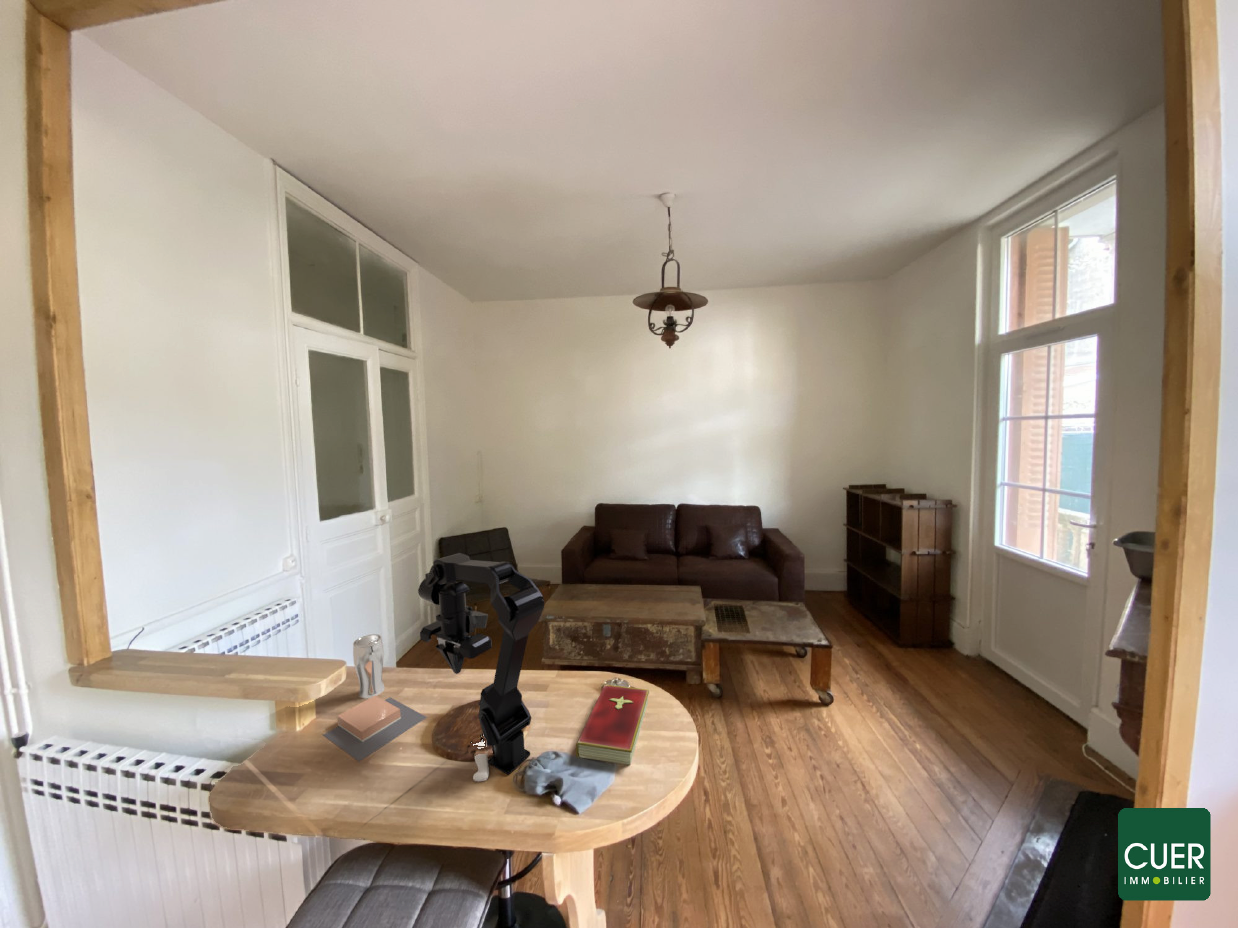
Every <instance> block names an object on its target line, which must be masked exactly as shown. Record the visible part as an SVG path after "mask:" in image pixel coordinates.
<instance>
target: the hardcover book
mask: <svg viewBox="0 0 1238 928" xmlns="http://www.w3.org/2000/svg"><path fill="white" fill-rule="evenodd" d="M649 694H650V689H649V688H648V689H646V688H639V687H629V686H622V685H614V684H613V685H612V684H604V685H603V687H602V689H601V691H600V693H599V696H598V698H597V700H596V702H595V704H594V707H593V708H592V710H591V713H590V715H589V717H588V719H587V721H586V723H585V726H584V728H583V730H582V731H581V733H580V737H579V738H578V741H577V743H576V745H575V746H576V747H575V753H576V755H575V756H576V758H577V757H579V758H584V759H590V760H596V761H601V762H608V763H615V764H620V765H627V766H631V763H632V760H633V757H634V755H635V754H634V753H635V750H636V745H637V743H638V739H639V737H640V733H641V728H642V725H643V722H644V718H645V714H646V712H647V711H646V710H647V708H648V704H649V703H648V701H649V699H648V696H649Z"/></svg>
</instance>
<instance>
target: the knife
mask: <svg viewBox="0 0 1238 928" xmlns="http://www.w3.org/2000/svg"><path fill="white" fill-rule="evenodd" d="M484 743H485V741H484V742H483V741H481V742H479V743H476V744H473V746H474V745H478V746H485V744H484ZM477 748H478V749H481V748H484V747H477ZM488 759H489V758H488V754H487V755H486V753H485V754H478V755H476V756H475V755H474V761H475V765H476V766H477V769H478V770H477V772H475V773H474V774H473V776H472V779H473V781H474V782H485V781H487V780H488V778H489V770H490V769H489V764H488Z"/></svg>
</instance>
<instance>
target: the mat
mask: <svg viewBox="0 0 1238 928" xmlns="http://www.w3.org/2000/svg"><path fill="white" fill-rule="evenodd" d="M384 700H385V701H386V702H388V703H390V704H392V705H394V706H395V707H397V708H399V709H400V715H401V719H399V720H397V721H396V722H394V723H392V724H391V725H389V726H388V727H386V728H384V729H383V730H381V731H379V732H378V733H376V734H375V735H373V736H371V737H370V738H368V739H366V740H365V741H363V742H362V741H361V740H359V739H358V738H356V737H355V736H353V735H352V734H350V733H349V732H347V731H346V730H344V729H343V728H342V727H340V726H339V725H338V726H335V728H332V729H331V730H328V731H327V732H325V733H324V734H322V736H324V737H325V738H326V739H327V740H329V741H330V742H332V743H333V744H334V745H336V746H337V747H338V748H340V749H341V750H342V751H344V752H345V753H347V754H348V755H349V756H351V757H352V758H353V759H355V760H356V761H358V762H361V761H362V760H364V759H365V758H367V757H369V756H370V755H372V754H373V753H375V752H376V751H378V750H380V749H381V748H382V747H384V746H385V745H387V744H389V743H390V742H392V741H394V740H395V739H396V738H398V737H399V736H401V735H403V734H404V733H406V732H407V731H408V730H410V729H411V728H413V727H415V726H416V725H418V724H420V723H421V722H423V721H424V720H427V718H428V716H426V715H425V714H422V713H420V712H418V711H416V710H414V709H413V708H412V707H409V706H407V705H406V704H404V703H402V702H400V701H398V700H396V699H394V698H392V697H390V696H389V697H388V698H386V699H384Z"/></svg>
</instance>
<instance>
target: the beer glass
mask: <svg viewBox="0 0 1238 928" xmlns="http://www.w3.org/2000/svg"><path fill="white" fill-rule="evenodd" d="M352 649H353V650H352V658H353V665H354V669H355V672H356V675H357V678H358V682H359V693H358V697H359V698H360V699H369V698H371V697H373V696H375V695H376V696H377V697H378V695H380V694H381V693H383V692H384V691H385V685H384V681H383V669H384V667H383V666H384V659H385V658H384V655H385V653H384V645H383V640H382V636H381V634H367V635H363V636H361V637H359V638H356V639H355V640H354V641H353V643H352Z"/></svg>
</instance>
